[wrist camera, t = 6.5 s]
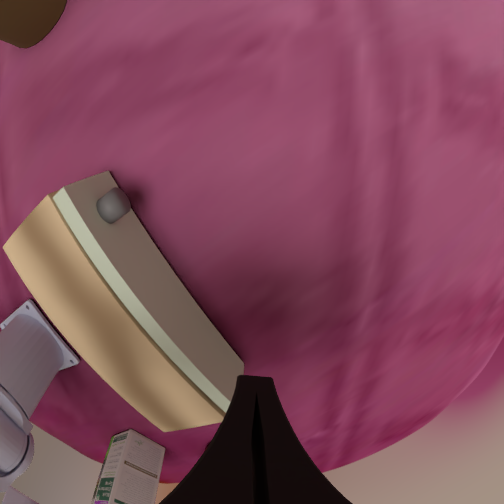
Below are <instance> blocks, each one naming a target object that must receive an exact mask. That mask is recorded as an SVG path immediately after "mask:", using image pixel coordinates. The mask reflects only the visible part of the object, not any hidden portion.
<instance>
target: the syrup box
mask: <svg viewBox="0 0 504 504" xmlns="http://www.w3.org/2000/svg"><path fill="white" fill-rule="evenodd" d="M164 453H165V448H164V447H162V446H161V445H159V444H157V443H156V442H154V441H152V440H150V439H149V438H147V437H145V436H143V435H141V434H139V433H138V432H136V431H134V430H132V429H129V430H128V431H126V432H122V433H120V434H117V435H115V436H112V438H111V441H110V444H109V447H108V450H107V453H106V456H105V459H104V462H103V465H102V469H101V472H100V475H99V478H98V482H97V485H96V488H95V492H94V495H93V499H92V503H91V504H155V499H156V494H157V489H158V483H159V478H160V473H161V468H162V463H163V458H164Z"/></svg>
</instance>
